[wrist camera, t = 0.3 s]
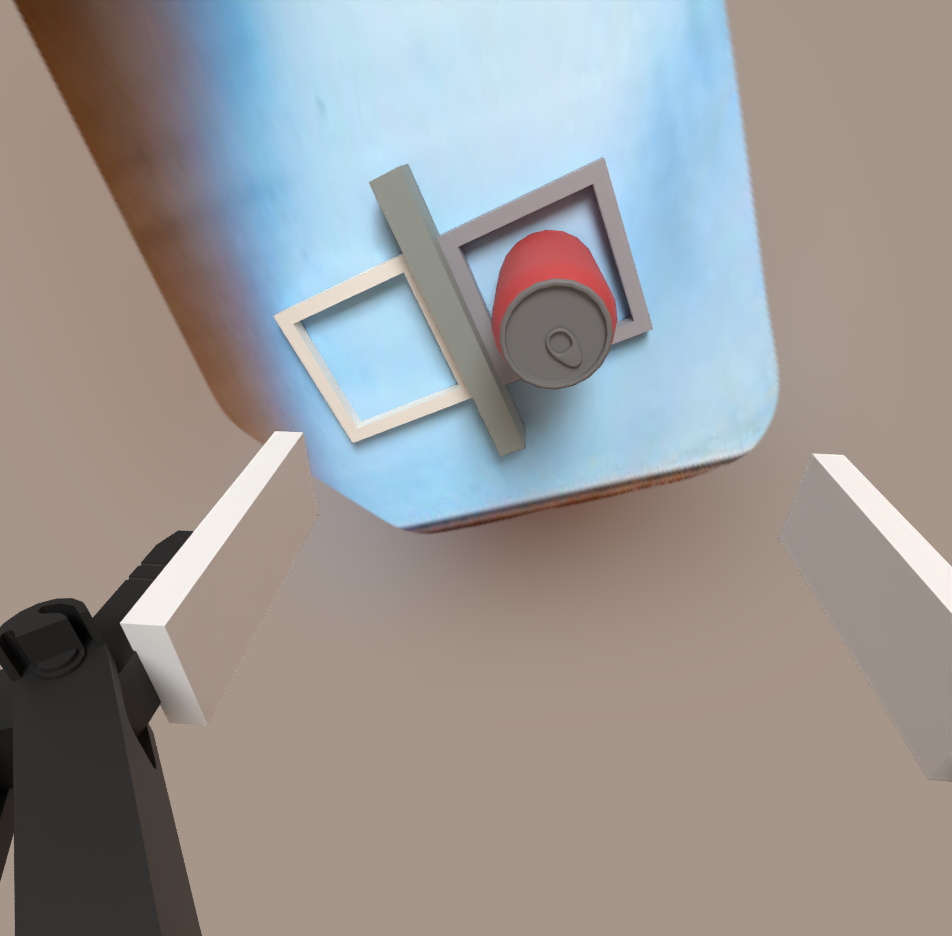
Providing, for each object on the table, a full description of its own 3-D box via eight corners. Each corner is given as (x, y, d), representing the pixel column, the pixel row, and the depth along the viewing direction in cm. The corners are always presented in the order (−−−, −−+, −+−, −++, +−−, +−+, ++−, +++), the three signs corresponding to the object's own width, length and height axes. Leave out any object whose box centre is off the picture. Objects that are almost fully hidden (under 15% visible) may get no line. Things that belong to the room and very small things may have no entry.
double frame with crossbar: (242, 251, 37) (222, 260, 35) (577, 73, 31) (582, 68, 28) (383, 478, 47) (375, 499, 44) (665, 379, 40) (675, 396, 37)
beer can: (538, 346, 39) (543, 422, 29) (479, 274, 37) (461, 329, 27) (616, 286, 37) (650, 346, 27) (557, 205, 34) (570, 236, 24)
